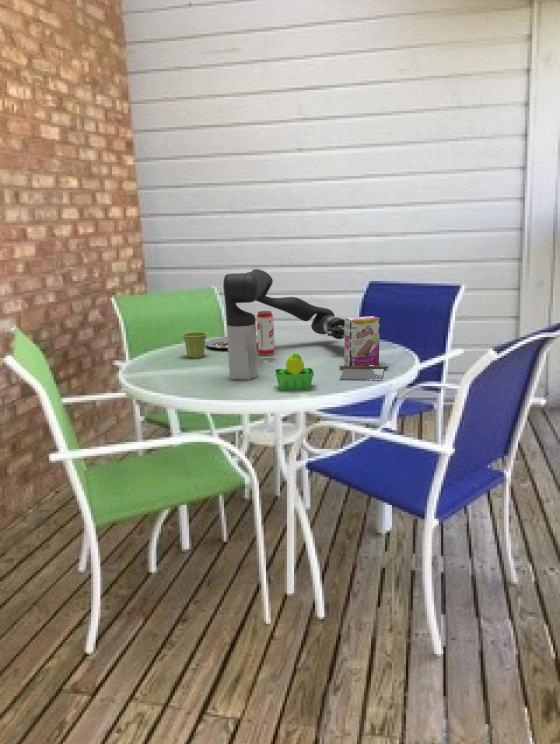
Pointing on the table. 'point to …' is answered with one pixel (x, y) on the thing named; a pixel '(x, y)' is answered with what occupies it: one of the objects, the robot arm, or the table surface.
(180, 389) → the table surface
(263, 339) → the beer can
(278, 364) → the table surface
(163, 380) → the table surface
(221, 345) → the food plate
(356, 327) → the candy bar box
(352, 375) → the mat
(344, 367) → the strip
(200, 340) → the plant pot
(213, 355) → the table surface
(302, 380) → the fruit basket
